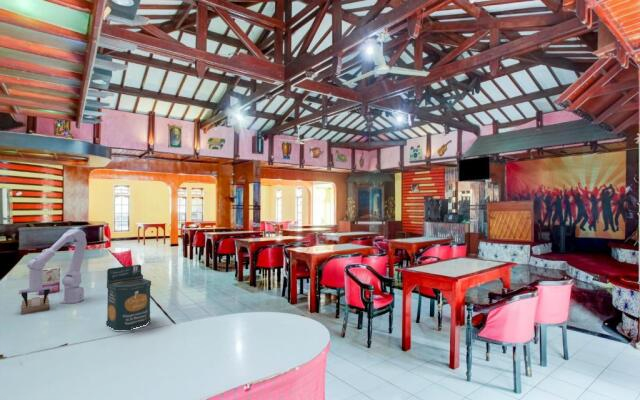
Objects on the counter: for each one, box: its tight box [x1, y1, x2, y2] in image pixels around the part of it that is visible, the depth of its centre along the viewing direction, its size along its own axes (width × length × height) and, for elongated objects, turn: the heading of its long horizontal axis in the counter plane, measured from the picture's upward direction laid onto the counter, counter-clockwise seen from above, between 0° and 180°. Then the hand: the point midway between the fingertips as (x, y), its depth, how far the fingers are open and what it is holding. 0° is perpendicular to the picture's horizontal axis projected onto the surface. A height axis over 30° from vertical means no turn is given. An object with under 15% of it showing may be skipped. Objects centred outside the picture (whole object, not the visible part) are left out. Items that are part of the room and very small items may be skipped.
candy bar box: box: [37, 267, 61, 296], centre depth 226 cm, size 11×5×16 cm, turn 143°
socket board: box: [20, 296, 51, 316], centre depth 194 cm, size 24×12×2 cm, turn 41°
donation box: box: [105, 264, 152, 331], centre depth 166 cm, size 16×16×28 cm
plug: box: [30, 296, 41, 307], centre depth 190 cm, size 4×4×6 cm
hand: (35, 304), depth 189 cm, fingers open, 7 cm apart
